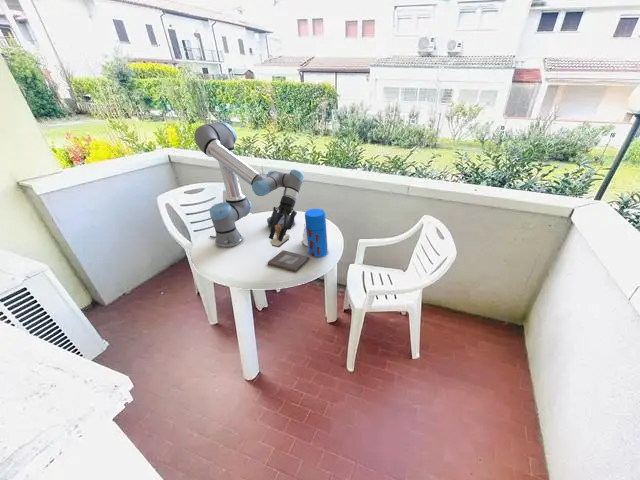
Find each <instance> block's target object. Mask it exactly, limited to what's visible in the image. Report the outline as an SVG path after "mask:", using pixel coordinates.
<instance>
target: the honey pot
mask: <svg viewBox="0 0 640 480" xmlns="http://www.w3.org/2000/svg"><path fill="white" fill-rule="evenodd" d="M303 226H304V228H303V232H302V242H303V245H304V246H306V247H308V240H307V231H306V222H305V223H304V225H303Z"/></svg>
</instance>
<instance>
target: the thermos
mask: <svg viewBox="0 0 640 480" xmlns="http://www.w3.org/2000/svg"><path fill="white" fill-rule="evenodd" d="M304 220H305V223H306V231H307V240H308V246H307V247H308V254H309V256H311V257H313V258H322V257H325V256H326V255H327V254H328V236H327V235H328V234H327V219H326V213H325V210H324V209H322V208H311V209H307V210H306V211H305V212H304Z"/></svg>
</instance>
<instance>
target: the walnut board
mask: <svg viewBox="0 0 640 480" xmlns="http://www.w3.org/2000/svg"><path fill="white" fill-rule="evenodd" d="M309 260H310V256H308V255H304V254H299V253H295V252H292V251H288V250H284V249H283V250H281V251H280V252H279V253H277V254H276V255H275V256H274V257H272V258H271V259H270V260H269V261H267V265H268V266H271V267H276V268H278V269H281V270H282V269H283V270H286V271H289V272H293V273H297V272H298V271H299V270H300V269H301V268H302V267H303V266H305V264H306V263H308V261H309Z"/></svg>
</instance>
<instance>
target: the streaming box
mask: <svg viewBox="0 0 640 480" xmlns="http://www.w3.org/2000/svg"><path fill="white" fill-rule="evenodd" d="M289 218H290V216H289ZM270 219H271V216H270V217H268V218H266V222H267V227H269V228H271V225H270V224H269V222H270ZM295 221H296V220H295V219H294V221H293V224H292V227H293V226H295V225H296V222H295ZM277 225H280V226H281V229H282V228H283V226H284V215H283V217H281V219H280V221H279V222H278V224H277ZM283 229H284V228H283Z"/></svg>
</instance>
